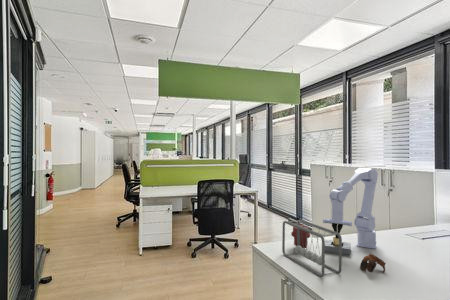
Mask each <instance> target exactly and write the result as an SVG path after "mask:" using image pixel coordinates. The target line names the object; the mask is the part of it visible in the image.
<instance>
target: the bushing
mask: <svg viewBox="0 0 450 300" xmlns="http://www.w3.org/2000/svg"><path fill="white" fill-rule="evenodd" d="M332 241H333V245H334V246H339V238H336V236H333V237H332Z"/></svg>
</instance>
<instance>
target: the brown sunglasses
mask: <svg viewBox="0 0 450 300" xmlns="http://www.w3.org/2000/svg"><path fill="white" fill-rule="evenodd" d="M377 264H378V265H380V267H382V268H383V270H382V273H383V274H384V273H385V271H386V264H387V263H386V262H385V261H383V259H381V258H380V257H378V256H376V255H375V254H373V253H369V254H368V255H366V256H364V257H363V258H362V260H361V262H360V265H359V269H360V270H361V271H363V272H364V273H366V272H369V273H373V272H374V270H375V268H376V267H377Z"/></svg>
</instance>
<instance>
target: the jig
mask: <svg viewBox="0 0 450 300" xmlns="http://www.w3.org/2000/svg"><path fill="white" fill-rule="evenodd" d="M324 240H325V253H326V254H327V253H328V254H335V255H339V246H334V245H333V239H332V240H331V239H324ZM351 245H352V244H351V242H345V241H342V256H347V257H351V251H352V249H351V248H352V247H351Z"/></svg>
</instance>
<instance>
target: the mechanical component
mask: <svg viewBox="0 0 450 300" xmlns="http://www.w3.org/2000/svg"><path fill="white" fill-rule="evenodd" d="M304 225H305V224H300V226H302V227H305V228H307V229H310V227H309V226H307V225H306V226H304ZM296 231H297V233H298V228H296V227H294V226H292V232H290V233H291V234H290V236H291V237H293V245H294V246H295V247H296V246H297V234H296ZM301 233H302V235H301ZM306 234H307V239H306ZM309 238H311V233H308V232H306V231H303V230H301V229H300V239H301V241H300V246H301V247H302V248H303V247H304V248H306V249H307V248H308V243H307V241H308V239H309ZM302 240H303V242H302ZM305 243H306V245H305Z"/></svg>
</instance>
